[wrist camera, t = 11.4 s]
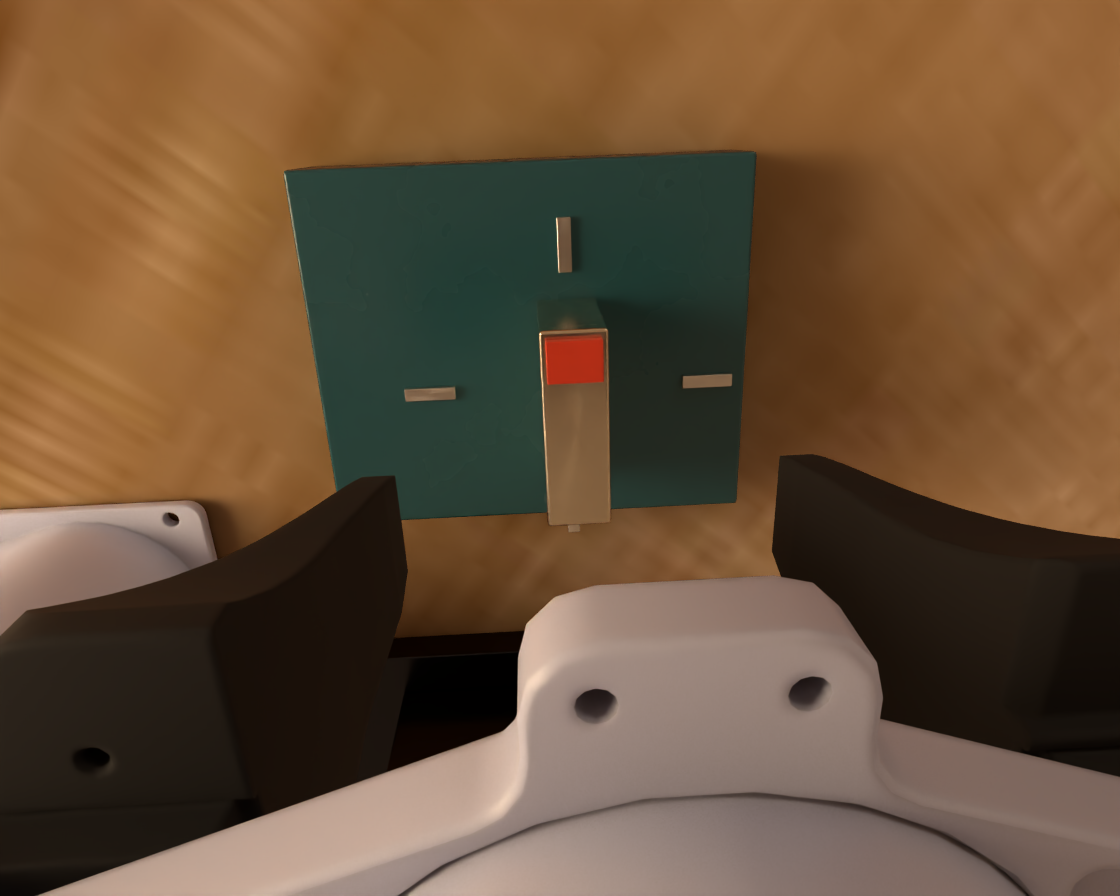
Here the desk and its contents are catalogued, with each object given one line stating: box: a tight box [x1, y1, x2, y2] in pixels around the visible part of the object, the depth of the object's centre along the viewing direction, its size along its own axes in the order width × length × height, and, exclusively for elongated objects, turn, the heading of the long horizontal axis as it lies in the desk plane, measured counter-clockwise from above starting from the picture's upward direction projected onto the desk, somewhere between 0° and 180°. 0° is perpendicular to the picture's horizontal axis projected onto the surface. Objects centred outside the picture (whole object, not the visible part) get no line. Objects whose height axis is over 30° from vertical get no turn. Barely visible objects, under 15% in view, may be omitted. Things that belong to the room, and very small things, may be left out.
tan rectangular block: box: [537, 298, 611, 526], centre depth 19 cm, size 5×2×4 cm, turn 2°
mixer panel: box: [284, 150, 757, 532], centre depth 22 cm, size 12×11×3 cm
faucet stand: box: [356, 631, 525, 783], centre depth 25 cm, size 10×8×9 cm
